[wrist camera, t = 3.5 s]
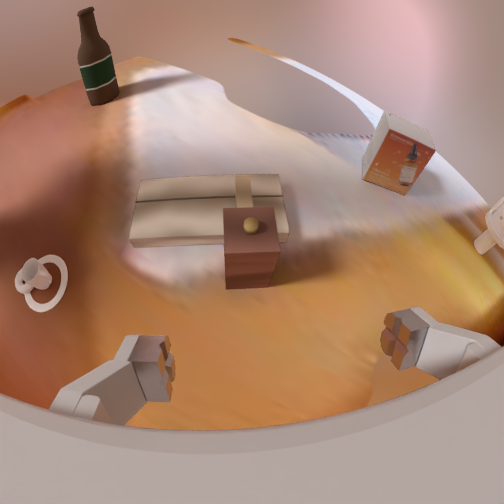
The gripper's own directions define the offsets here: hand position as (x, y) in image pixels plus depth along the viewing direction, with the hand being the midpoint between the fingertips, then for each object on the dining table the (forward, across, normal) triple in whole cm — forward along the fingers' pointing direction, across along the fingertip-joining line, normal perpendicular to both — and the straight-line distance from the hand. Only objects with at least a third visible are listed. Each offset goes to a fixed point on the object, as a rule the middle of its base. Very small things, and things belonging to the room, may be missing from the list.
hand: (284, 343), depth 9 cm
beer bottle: (+51, +29, -27) cm, 64 cm away
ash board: (+26, +4, -1) cm, 26 cm away
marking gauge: (+23, 0, +2) cm, 23 cm away
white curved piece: (+21, +27, +3) cm, 35 cm away
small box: (+31, -23, -5) cm, 39 cm away
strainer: (+22, -41, +5) cm, 46 cm away
